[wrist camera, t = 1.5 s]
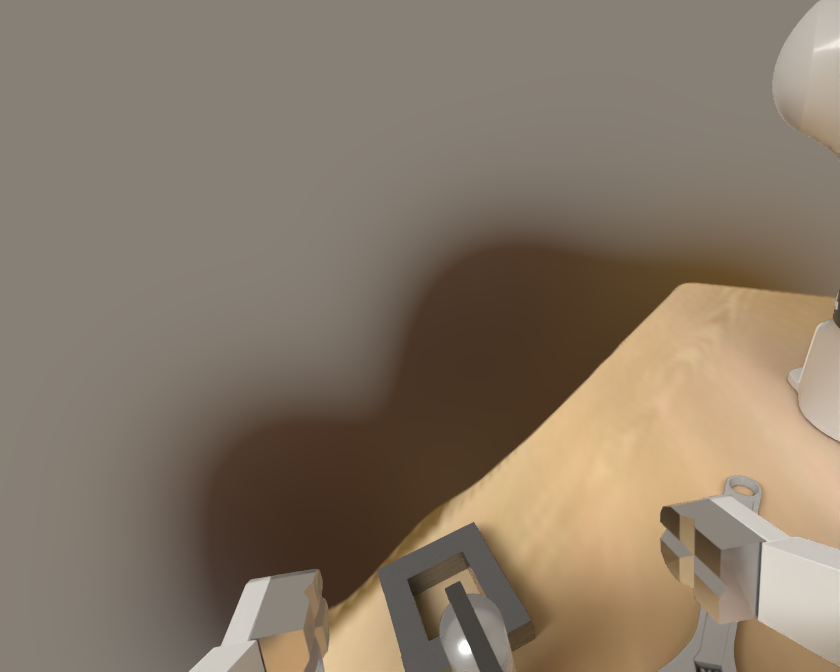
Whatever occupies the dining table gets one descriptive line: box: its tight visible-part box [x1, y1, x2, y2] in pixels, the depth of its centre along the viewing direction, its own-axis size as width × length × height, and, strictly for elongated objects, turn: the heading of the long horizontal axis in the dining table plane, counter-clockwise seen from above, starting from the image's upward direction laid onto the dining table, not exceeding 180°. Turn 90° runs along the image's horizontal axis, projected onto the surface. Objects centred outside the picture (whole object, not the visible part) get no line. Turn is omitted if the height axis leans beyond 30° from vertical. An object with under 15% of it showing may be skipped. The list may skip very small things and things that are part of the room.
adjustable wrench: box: [657, 476, 762, 672], centre depth 31 cm, size 25×6×2 cm, turn 135°
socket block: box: [377, 522, 535, 672], centre depth 35 cm, size 10×10×2 cm
